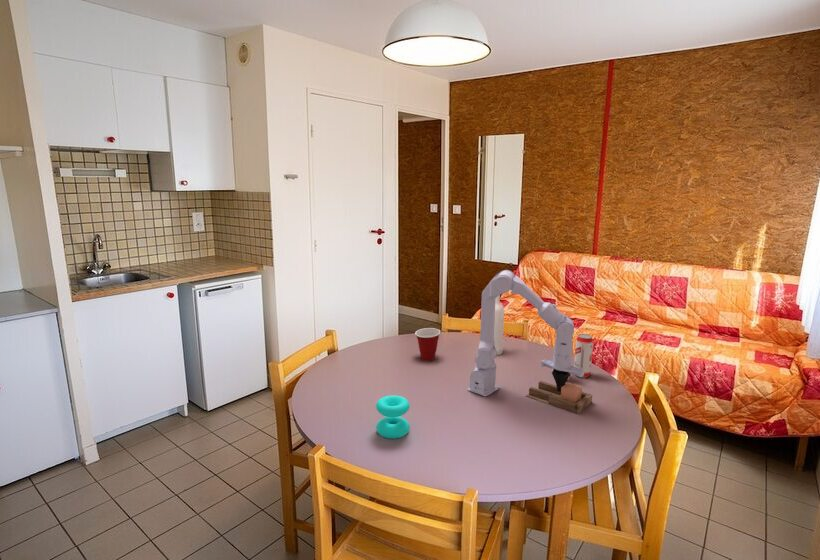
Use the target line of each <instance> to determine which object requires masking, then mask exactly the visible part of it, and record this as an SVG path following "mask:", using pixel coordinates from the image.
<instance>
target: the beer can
mask: <svg viewBox="0 0 820 560" xmlns="http://www.w3.org/2000/svg"><path fill="white" fill-rule="evenodd" d="M574 348H575V349H574V360H573V366H574V367H576V368H579V369H581V370H584V376H583V377H582V379H585V378H588V377H589V376H591V373H592V360H593V351H594V349H593V348H594V340H593V336H592V335H590V334H586V333H579V334H577V337H576V339H575V347H574ZM575 376H576V377H578V378H580V377H579V376H577V375H575Z"/></svg>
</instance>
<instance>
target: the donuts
mask: <svg viewBox="0 0 820 560" xmlns="http://www.w3.org/2000/svg"><path fill="white" fill-rule="evenodd" d="M375 408H376V411H377V412H378V414H380V415H382V416H383V417H382V418H381V419H379V421H377V423H376V429H375V430H376V432H377V434H378V435H380V436H381V437H383V438H386V439H400V438H402V437H404V436H406V435H407V434H408V433H409V432H410V423H409V421H407V419H405V418H404V417H403V416H404V415H405V414H406V413H408V412H409V411H410V410H409V409H410V402H409V401H408V399H407V398H405V397H404V396H400V395H396V394H395V395H394V394H391V395H386V396H385V395H384V396H383V397H381V398H379V399H378V400H377V401H376V403H375Z"/></svg>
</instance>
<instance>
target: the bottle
mask: <svg viewBox="0 0 820 560" xmlns="http://www.w3.org/2000/svg"><path fill="white" fill-rule="evenodd" d="M500 300H501V294H500V295H499V296H498V297H496V301H495V325H494V341H495V348H496V350H497V356H500V355H502V354H503V349H504V347H503V345H504V343H503V342H504V324H505V322H504V321H505V318H504V317H505V308H504V306H503V305H504V304H502V303H501V302H500Z"/></svg>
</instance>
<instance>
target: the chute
mask: <svg viewBox="0 0 820 560" xmlns="http://www.w3.org/2000/svg"><path fill="white" fill-rule="evenodd" d="M525 397H526V398H529V399H532V400H535V401H539V402H541V403H544V404H547V405H551V406H552V407H553V406H554V407H556V408H560V409H562V410H565V411H569V412H571V413H574V412H575V413H574V414H576V415H579V414H581V412H583V411H584V410H585V409H586V408H588V406H590V405H591V404H592V402H593V394H591V393H587V392H584V391H582V392H581V400H580V401H579V402H578V403H574V402H571V401H568V400H565V399H562V398H561V392H559V391H557V386H556V385H555V384H551V383H548V382H546V381H542V380H540V381H538V387H533V386H532V387H529V389H528V393H527V394H526V395H525Z"/></svg>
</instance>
